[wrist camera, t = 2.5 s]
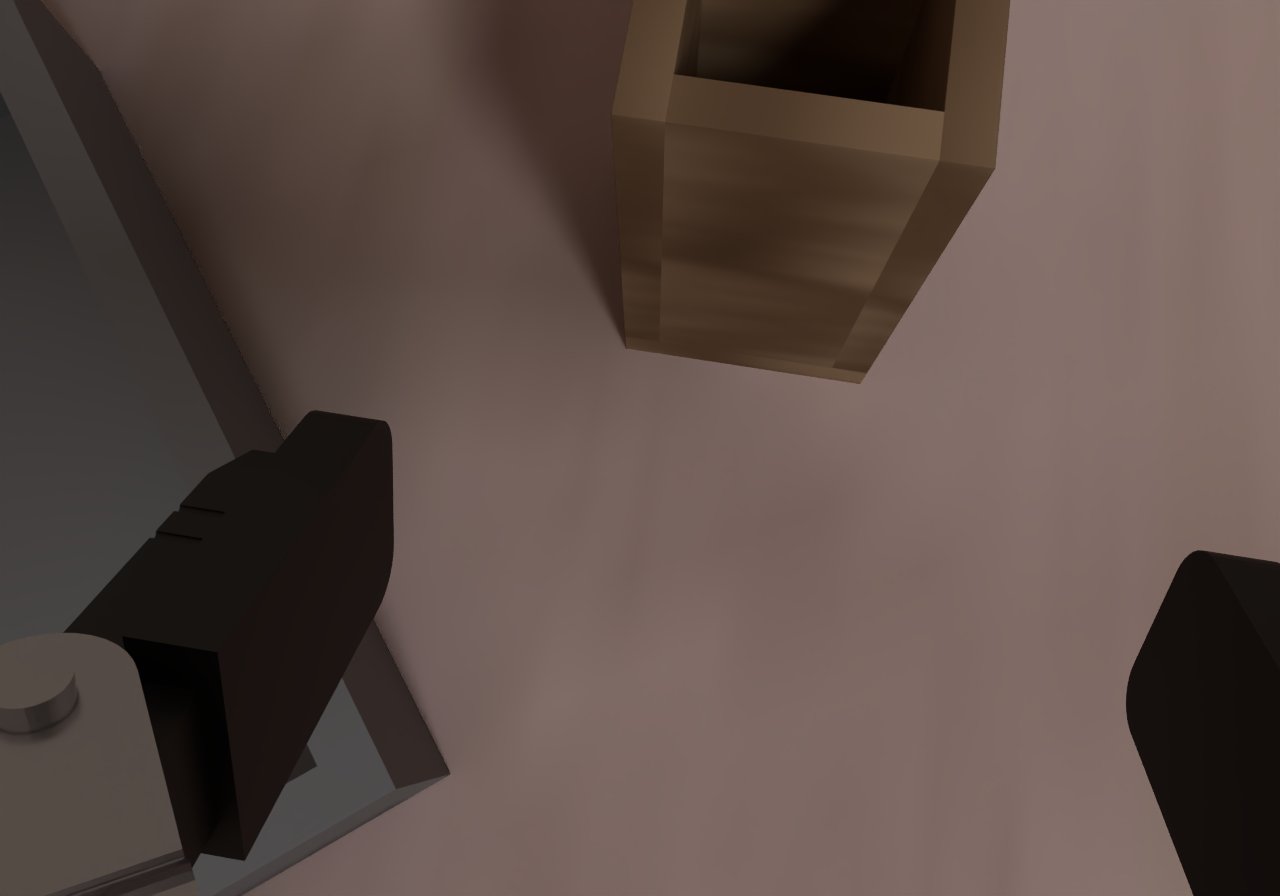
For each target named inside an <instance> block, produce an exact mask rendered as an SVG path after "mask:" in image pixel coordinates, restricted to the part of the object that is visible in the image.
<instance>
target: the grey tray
mask: <svg viewBox="0 0 1280 896" xmlns="http://www.w3.org/2000/svg"><path fill="white" fill-rule="evenodd" d="M283 442H284V440H283V438H282V436H281V434H280V432H279V430H278V428H277V426H276V424H275V422H274V420H273V418H272V416H271V414H270V412H269V410H268V408H267V406H266V404H265V402H264V400H263V398H262V396H261V394H260V392H259V390H258V388H257V386H256V384H255V382H254V380H253V378H252V376H251V374H250V372H249V370H248V368H247V366H246V364H245V362H244V360H243V358H242V356H241V354H240V352H239V350H238V348H237V346H236V344H235V342H234V340H233V338H232V336H231V334H230V332H229V330H228V328H227V326H226V324H225V322H224V320H223V318H222V316H221V314H220V312H219V310H218V308H217V306H216V304H215V302H214V300H213V298H212V296H211V294H210V292H209V290H208V288H207V286H206V284H205V282H204V280H203V278H202V276H201V274H200V272H199V270H198V268H197V266H196V264H195V262H194V260H193V258H192V256H191V254H190V252H189V250H188V248H187V246H186V244H185V242H184V240H183V238H182V236H181V234H180V232H179V230H178V228H177V226H176V224H175V222H174V220H173V218H172V216H171V214H170V212H169V210H168V208H167V206H166V204H165V202H164V200H163V198H162V196H161V194H160V192H159V190H158V188H157V186H156V184H155V182H154V180H153V178H152V176H151V174H150V172H149V170H148V168H147V166H146V164H145V162H144V160H143V158H142V156H141V154H140V152H139V150H138V148H137V146H136V144H135V142H134V140H133V138H132V136H131V134H130V132H129V130H128V128H127V126H126V124H125V122H124V120H123V118H122V116H121V114H120V112H119V110H118V108H117V106H116V104H115V102H114V100H113V98H112V96H111V94H110V92H109V90H108V88H107V86H106V84H105V82H104V80H103V78H102V76H101V74H100V72H99V70H98V68H97V67H96V66H95V65H94V63H93V62H92V61H91V60H90V59H89V57H88V56H87V55H86V54H85V53H84V52H83V50H82V49H81V48H80V47H79V46H78V45H77V43H76V42H75V41H74V40H73V39H72V37H71V36H70V35H69V34H68V33H67V32H66V30H65V29H64V28H63V27H62V26H61V24H60V23H59V22H58V21H57V20H56V19H55V17H54V16H53V15H52V14H51V13H50V11H49V10H48V9H47V8H46V7H45V6H44V4H43V3H42V2H41V1H40V0H0V645H2V644H5V643H8V642H11V641H15V640H18V639H22V638H26V637H31V636H36V635H42V634H52V633H63V632H64V631H65V630H66V629H67V628H68V627H69V626H70V625H71V623H72V622H73V621H74V620H75V619H76V618H77V617H78V616H79V615H80V614H81V612H82V611H83V610H84V609H85V608H86V607H87V606H88V605H89V604H90V603H91V601H92V600H93V599H94V598H95V597H96V596H97V595H98V594H99V593H100V592H101V590H102V589H103V588H104V587H105V586H106V585H107V584H108V583H109V582H110V581H111V580H112V578H113V577H114V576H115V575H116V574H117V573H118V572H119V571H120V570H121V569H122V567H123V566H124V565H125V564H126V563H127V562H128V561H129V560H130V559H131V558H132V556H133V555H134V554H135V553H136V552H137V551H138V550H139V549H140V548H141V547H142V545H143V544H144V543H145V542H146V541H147V540H148V539H149V538H155V535H156V530H157V529H158V528H159V527H160V526H161V525H162V523H163V522H164V521H165V520H166V519H167V518H168V517H169V516H170V515H171V514H172V512H173V511H179V508H180V504H181V503H182V501H183V500H184V499H185V498H186V497H187V496H188V495H189V494H190V493H191V492H192V490H193V489H194V488H195V487H196V486H197V485H198V484H199V483H200V482H201V481H202V479H203V478H204V477H205V476H206V475H207V474H208V473H210V472H211V471H213V470H215V469H217V468H219V467H221V466H223V465H225V464H226V463H228V462H230V461H232V460H234V459H236V458H238V457H240V456H241V455H243V454H245V453H247V452H249V451H251V450H259V451H266V452H272V453H275V452H276V451H277V449H278V448H279V447H280V446H281V445H282V443H283ZM448 775H450V772H449V770H448V768H447V766H446V764H445V762H444V760H443V758H442V756H441V754H440V752H439V750H438V748H437V746H436V744H435V742H434V740H433V738H432V736H431V734H430V732H429V730H428V728H427V726H426V724H425V722H424V720H423V718H422V716H421V714H420V712H419V710H418V708H417V706H416V704H415V702H414V700H413V698H412V696H411V694H410V692H409V690H408V688H407V686H406V684H405V682H404V680H403V678H402V676H401V674H400V672H399V670H398V668H397V666H396V664H395V662H394V660H393V658H392V656H391V654H390V652H389V650H388V648H387V646H386V644H385V642H384V640H383V638H382V636H381V634H380V632H379V630H378V628H377V626H376V624H375V622H374V620H372V622H371V624H370V625H369V627H368V629H367V631H366V633H365V635H364V637H363V639H362V641H361V642H360V644H359V646H358V648H357V650H356V652H355V654H354V656H353V658H352V659H351V661H350V663H349V665H348V667H347V669H346V671H345V673H344V675H343V677H342V678H341V680H340V682H339V684H338V686H337V688H336V690H335V692H334V694H333V695H332V697H331V699H330V701H329V703H328V705H327V707H326V709H325V711H324V712H323V714H322V716H321V718H320V720H319V722H318V724H317V726H316V728H315V729H314V731H313V733H312V735H311V737H310V739H309V741H308V743H307V745H306V746H305V748H304V750H303V752H302V754H301V756H300V758H299V760H298V762H297V763H296V765H295V767H294V769H293V771H292V773H291V775H290V777H289V779H288V781H287V782H286V784H285V786H284V788H283V790H282V792H281V794H280V796H279V798H278V799H277V801H276V803H275V805H274V807H273V809H272V811H271V813H270V815H269V816H268V818H267V820H266V822H265V824H264V826H263V828H262V830H261V832H260V833H259V835H258V837H257V839H256V841H255V843H254V845H253V847H252V849H251V850H250V852H249V854H248V856H247V858H246V860H245V861H241V860H236V859H230V858H224V857H219V856H213V855H208V854H202V853H201V854H200V856H199V857H198V859H197V861H196V862H195V864H194V866H193V868H192V870H193V874H194V877H195V881H196V885H197V888H198V892H199V896H241V895H243V894H245V893H247V892H248V891H250V890H252V889H253V888H255V887H257V886H259V885H260V884H262V883H264V882H265V881H267V880H269V879H271V878H272V877H274V876H276V875H277V874H279V873H281V872H283V871H284V870H286V869H288V868H290V867H291V866H293V865H295V864H296V863H298V862H300V861H302V860H303V859H305V858H307V857H308V856H310V855H312V854H314V853H315V852H317V851H319V850H321V849H322V848H324V847H326V846H327V845H329V844H331V843H333V842H334V841H336V840H338V839H339V838H341V837H343V836H345V835H346V834H348V833H350V832H352V831H353V830H355V829H357V828H358V827H360V826H362V825H364V824H365V823H367V822H369V821H370V820H372V819H374V818H376V817H377V816H379V815H381V814H383V813H384V812H386V811H388V810H389V809H391V808H393V807H395V806H396V805H398V804H400V803H401V802H403V801H405V800H407V799H408V798H410V797H412V796H413V795H415V794H417V793H419V792H420V791H422V790H424V789H426V788H427V787H429V786H431V785H432V784H434V783H436V782H438V781H439V780H441V779H443V778H444V777H446V776H448Z"/></svg>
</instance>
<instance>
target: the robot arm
mask: <svg viewBox="0 0 1280 896" xmlns="http://www.w3.org/2000/svg"><path fill="white" fill-rule="evenodd" d="M393 550H394V524H393V459H392V436H391V431H390V427H389V425H388V424H387V422H385V421H381V420H375V419H368V418H362V417H356V416H349V415H343V414H336V413H330V412H323V411H317V410H314V411H311V412H309V413H308V414H307V415H306V416H305V417H304V418H303V419H302V421H301V422H300V423H299V424H298V425H297V427H296V428H295V429H294V430H293V431H292V433H291V434H290V435H289V436H288V437H287V439H286V440H285V441H284V442H283V443H282V445H281V446H280V447H279V448H278V449H277V451H276V452H275V453H272V452H266V451H259V450H251V451H249V452H247V453H245V454H243V455H241V456H240V457H238V458H236V459H234V460H232V461H230V462H228V463H226V464H225V465H223V466H221V467H219V468H217V469H215V470H213V471H211V472H210V473H208V474H207V475H206V476H205V477H204V478H203V479H202V481H201V482H200V483H199V484H198V485H197V486H196V487H195V488H194V489H193V490H192V492H191V493H190V494H189V495H188V496H187V497H186V498H185V499H184V500H183V501H182V503H181V504H180V508H179V511H173V512H172V514H171V515H170V516H169V517H168V518H167V519H166V520H165V521H164V522H163V523H162V525H161V526H160V527H159V528H158V529H157V530H156V535H155V538H149V539H148V540H147V541H146V542H145V543H144V544H143V545H142V547H141V548H140V549H139V550H138V551H137V552H136V553H135V554H134V555H133V556H132V558H131V559H130V560H129V561H128V562H127V563H126V564H125V565H124V566H123V567H122V569H121V570H120V571H119V572H118V573H117V574H116V575H115V576H114V577H113V578H112V580H111V581H110V582H109V583H108V584H107V585H106V586H105V587H104V588H103V589H102V590H101V592H100V593H99V594H98V595H97V596H96V597H95V598H94V599H93V600H92V601H91V603H90V604H89V605H88V606H87V607H86V608H85V609H84V610H83V611H82V612H81V614H80V615H79V616H78V617H77V618H76V619H75V620H74V621H73V622H72V623H71V625H70V626H69V627H68V628H67V629H66V630H65V631H64V632H63V633H52V634H42V635H36V636H31V637H26V638H22V639H18V640H15V641H11V642H8V643H5V644H2V645H0V896H199V892H198V888H197V885H196V881H195V877H194V874H193V870H192V868H193V866H194V864H195V862H196V861H197V859H198V857H199V856H200V854H201V853H202V854H208V855H213V856H219V857H224V858H230V859H236V860H241V861H245V860H246V858H247V856H248V854H249V852H250V850H251V849H252V847H253V845H254V843H255V841H256V839H257V837H258V835H259V833H260V832H261V830H262V828H263V826H264V824H265V822H266V820H267V818H268V816H269V815H270V813H271V811H272V809H273V807H274V805H275V803H276V801H277V799H278V798H279V796H280V794H281V792H282V790H283V788H284V786H285V784H286V782H287V781H288V779H289V777H290V775H291V773H292V771H293V769H294V767H295V765H296V763H297V762H298V760H299V758H300V756H301V754H302V752H303V750H304V748H305V746H306V745H307V743H308V741H309V739H310V737H311V735H312V733H313V731H314V729H315V728H316V726H317V724H318V722H319V720H320V718H321V716H322V714H323V712H324V711H325V709H326V707H327V705H328V703H329V701H330V699H331V697H332V695H333V694H334V692H335V690H336V688H337V686H338V684H339V682H340V680H341V678H342V677H343V675H344V673H345V671H346V669H347V667H348V665H349V663H350V661H351V659H352V658H353V656H354V654H355V652H356V650H357V648H358V646H359V644H360V642H361V641H362V639H363V637H364V635H365V633H366V631H367V629H368V627H369V625H370V624H371V622H372V620H373V618H374V616H375V614H376V612H377V610H378V608H379V606H380V604H381V602H382V600H383V597H384V595H385V592H386V589H387V585H388V581H389V577H390V573H391V567H392V561H393ZM1126 713H1127V720H1128V725H1129V729H1130V732H1131V735H1132V738H1133V740H1134V743H1135V745H1136V748H1137V750H1138V753H1139V756H1140V758H1141V761H1142V763H1143V766H1144V769H1145V771H1146V774H1147V776H1148V779H1149V782H1150V784H1151V787H1152V789H1153V792H1154V795H1155V797H1156V800H1157V802H1158V805H1159V807H1160V810H1161V813H1162V815H1163V818H1164V820H1165V823H1166V826H1167V828H1168V831H1169V833H1170V836H1171V839H1172V841H1173V844H1174V846H1175V849H1176V852H1177V854H1178V857H1179V859H1180V862H1181V864H1182V867H1183V870H1184V872H1185V875H1186V877H1187V880H1188V883H1189V885H1190V888H1191V890H1192V893H1193V896H1280V563H1278V562H1273V561H1266V560H1260V559H1253V558H1247V557H1241V556H1234V555H1228V554H1221V553H1215V552H1209V551H1200V550H1198V551H1195V552H1192V553H1191V554H1189V555H1188V556H1187V557H1186V558H1185V559H1184V560H1183V562H1182V563H1181V565H1180V567H1179V568H1178V570H1177V572H1176V574H1175V577H1174V579H1173V581H1172V583H1171V585H1170V587H1169V589H1168V592H1167V594H1166V596H1165V598H1164V600H1163V602H1162V604H1161V607H1160V609H1159V611H1158V613H1157V615H1156V617H1155V619H1154V622H1153V624H1152V626H1151V628H1150V630H1149V632H1148V634H1147V637H1146V639H1145V641H1144V643H1143V645H1142V647H1141V649H1140V652H1139V654H1138V656H1137V658H1136V660H1135V662H1134V665H1133V667H1132V670H1131V673H1130V676H1129V681H1128V686H1127V694H1126Z"/></svg>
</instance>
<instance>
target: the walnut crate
mask: <svg viewBox="0 0 1280 896" xmlns="http://www.w3.org/2000/svg"><path fill="white" fill-rule="evenodd" d="M1009 8H1010V0H633V3H632V8H631V13H630V19H629V24H628V29H627V34H626V39H625V45H624V50H623V55H622V60H621V65H620V71H619V76H618V81H617V86H616V91H615V96H614V102H613V107H612V112H611V121H612V136H613V152H614V168H615V183H616V199H617V215H618V230H619V246H620V262H621V277H622V293H623V309H624V324H625V340H626V348H628V349H634V350H641V351H647V352H654V353H660V354H667V355H673V356H680V357H686V358H693V359H700V360H706V361H713V362H719V363H726V364H732V365H739V366H745V367H752V368H759V369H765V370H772V371H778V372H785V373H791V374H798V375H804V376H811V377H817V378H824V379H831V380H837V381H844V382H850V383H857V384H860V383H861V382H862V380H863V378H864V377H865V375H866V374H867V372H868V370H869V369H870V367H871V366H872V364H873V363H874V361H875V359H876V358H877V356H878V355H879V353H880V351H881V350H882V348H883V347H884V345H885V343H886V342H887V340H888V339H889V337H890V335H891V334H892V332H893V331H894V329H895V327H896V326H897V324H898V323H899V321H900V319H901V318H902V316H903V315H904V313H905V312H906V310H907V308H908V307H909V305H910V304H911V302H912V300H913V299H914V297H915V296H916V294H917V292H918V291H919V289H920V288H921V286H922V284H923V283H924V281H925V280H926V278H927V276H928V275H929V273H930V272H931V270H932V268H933V267H934V265H935V264H936V262H937V261H938V259H939V257H940V256H941V254H942V253H943V251H944V249H945V248H946V246H947V245H948V243H949V241H950V240H951V238H952V237H953V235H954V233H955V232H956V230H957V229H958V227H959V225H960V224H961V222H962V221H963V219H964V217H965V216H966V214H967V213H968V211H969V209H970V208H971V206H972V205H973V203H974V202H975V200H976V198H977V197H978V195H979V194H980V192H981V190H982V189H983V187H984V186H985V184H986V182H987V181H988V179H989V178H990V176H991V174H992V173H993V171H994V170H995V165H996V154H997V143H998V132H999V120H1000V109H1001V98H1002V87H1003V75H1004V64H1005V53H1006V42H1007V31H1008V19H1009Z"/></svg>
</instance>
